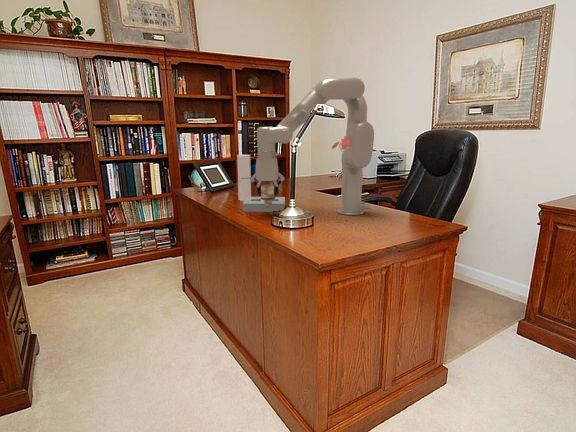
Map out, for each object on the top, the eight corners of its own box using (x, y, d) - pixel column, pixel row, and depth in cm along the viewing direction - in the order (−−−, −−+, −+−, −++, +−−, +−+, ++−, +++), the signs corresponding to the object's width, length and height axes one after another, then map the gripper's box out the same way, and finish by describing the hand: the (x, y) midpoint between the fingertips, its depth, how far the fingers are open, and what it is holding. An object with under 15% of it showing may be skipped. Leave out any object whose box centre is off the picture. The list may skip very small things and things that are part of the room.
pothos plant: (365, 181, 274) (367, 135, 266) (333, 182, 270) (334, 135, 262) (358, 179, 289) (360, 135, 281) (327, 179, 285) (328, 135, 277)
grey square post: (248, 201, 194) (247, 155, 188) (236, 200, 196) (235, 155, 190) (252, 198, 201) (251, 154, 195) (240, 198, 202) (239, 154, 196)
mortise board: (284, 204, 186) (284, 197, 185) (284, 212, 169) (284, 203, 168) (247, 204, 187) (247, 196, 186) (242, 211, 169) (242, 203, 168)
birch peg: (275, 205, 164) (275, 184, 161) (275, 208, 157) (274, 186, 155) (261, 205, 164) (260, 184, 161) (260, 208, 157) (259, 187, 155)
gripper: (286, 154, 158) (287, 193, 163) (247, 155, 159) (249, 194, 163) (285, 155, 151) (286, 196, 155) (245, 156, 151) (247, 197, 156)
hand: (267, 195), depth 159 cm, fingers closed on birch peg, 6 cm apart
